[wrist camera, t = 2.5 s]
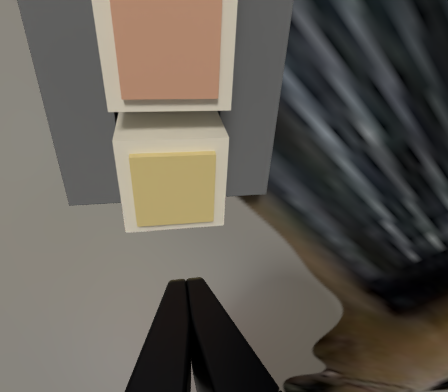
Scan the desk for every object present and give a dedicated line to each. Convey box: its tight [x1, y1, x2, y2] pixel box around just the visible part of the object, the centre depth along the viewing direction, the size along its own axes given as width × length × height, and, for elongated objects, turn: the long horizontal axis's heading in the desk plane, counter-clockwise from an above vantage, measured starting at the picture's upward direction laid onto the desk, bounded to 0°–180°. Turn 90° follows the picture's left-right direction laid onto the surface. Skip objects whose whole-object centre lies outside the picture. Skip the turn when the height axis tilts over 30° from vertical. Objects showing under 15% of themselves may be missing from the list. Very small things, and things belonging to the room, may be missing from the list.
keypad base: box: [17, 0, 294, 205], centre depth 14 cm, size 10×16×2 cm, turn 177°
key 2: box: [91, 0, 238, 112], centre depth 11 cm, size 4×4×4 cm
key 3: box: [112, 111, 229, 233], centre depth 14 cm, size 4×4×4 cm
